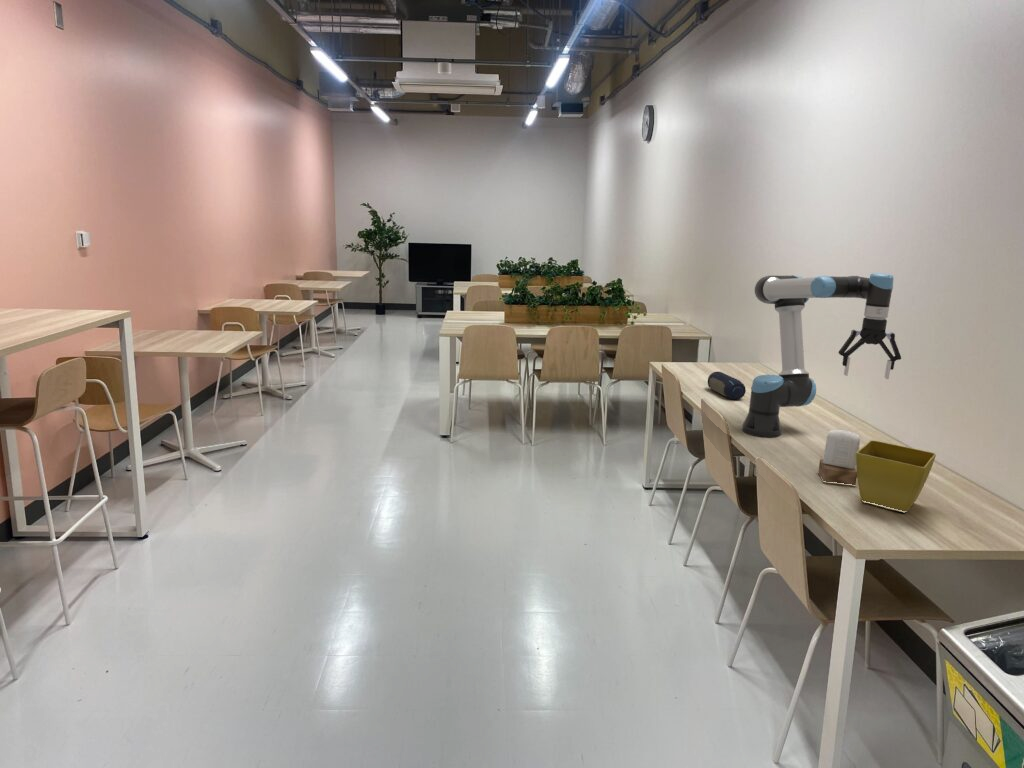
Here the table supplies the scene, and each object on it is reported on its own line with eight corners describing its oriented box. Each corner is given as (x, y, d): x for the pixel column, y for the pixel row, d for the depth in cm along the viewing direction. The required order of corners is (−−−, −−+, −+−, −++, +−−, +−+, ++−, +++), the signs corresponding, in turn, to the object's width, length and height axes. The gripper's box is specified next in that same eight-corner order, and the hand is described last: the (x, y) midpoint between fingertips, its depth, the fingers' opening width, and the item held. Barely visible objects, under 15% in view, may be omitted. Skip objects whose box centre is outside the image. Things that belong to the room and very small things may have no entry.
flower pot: (863, 486, 238) (871, 438, 234) (927, 502, 226) (937, 452, 222) (847, 503, 224) (855, 452, 220) (915, 521, 212) (924, 468, 208)
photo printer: (856, 466, 242) (861, 432, 239) (855, 470, 238) (860, 435, 235) (823, 460, 247) (828, 426, 244) (822, 464, 243) (827, 429, 240)
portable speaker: (703, 388, 364) (705, 369, 362) (721, 388, 366) (723, 369, 364) (727, 402, 341) (730, 381, 338) (746, 401, 343) (749, 381, 340)
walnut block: (823, 482, 240) (825, 468, 239) (818, 472, 249) (820, 459, 248) (855, 486, 238) (857, 472, 237) (849, 476, 247) (851, 462, 246)
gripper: (839, 316, 251) (830, 375, 256) (917, 322, 245) (906, 382, 250) (835, 314, 258) (827, 371, 263) (911, 319, 252) (900, 377, 257)
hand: (866, 376), depth 257 cm, fingers open, 13 cm apart
